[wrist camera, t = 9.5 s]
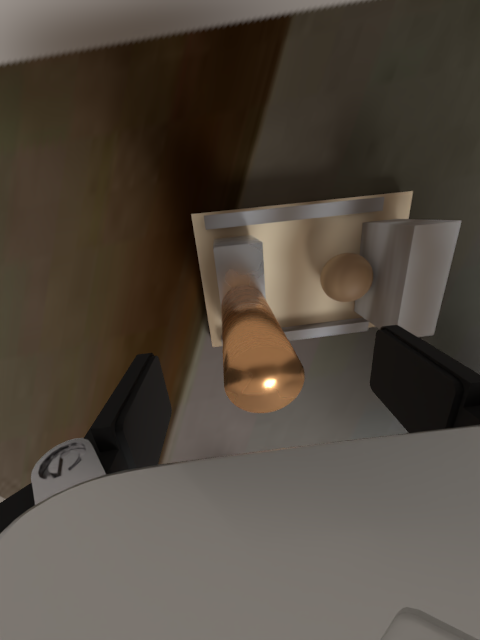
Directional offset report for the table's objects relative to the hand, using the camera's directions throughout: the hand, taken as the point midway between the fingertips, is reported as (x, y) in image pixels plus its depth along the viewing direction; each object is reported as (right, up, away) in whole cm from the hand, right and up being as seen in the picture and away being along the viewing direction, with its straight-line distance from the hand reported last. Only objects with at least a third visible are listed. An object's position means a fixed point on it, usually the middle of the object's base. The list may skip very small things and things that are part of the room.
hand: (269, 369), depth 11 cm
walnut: (+7, +6, +12) cm, 15 cm away
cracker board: (+4, +7, +13) cm, 15 cm away
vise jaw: (-1, +5, +11) cm, 12 cm away
